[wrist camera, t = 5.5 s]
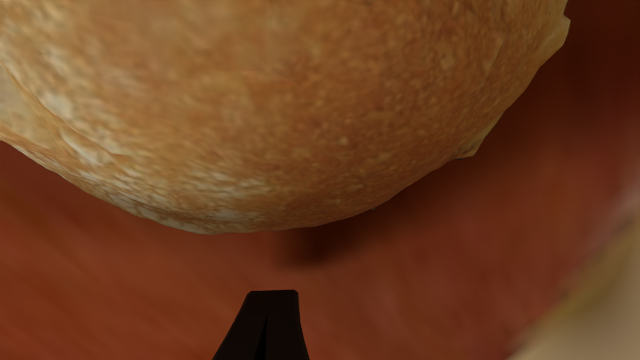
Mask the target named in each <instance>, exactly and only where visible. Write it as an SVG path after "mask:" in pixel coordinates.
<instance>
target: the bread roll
mask: <svg viewBox="0 0 640 360" xmlns="http://www.w3.org/2000/svg"><path fill="white" fill-rule="evenodd" d="M567 1H568V0H0V140H2V141H4V142H6V143H8V144H10V145H12V146H13V147H15V148H16V149H18V150H19V151H21V152H22V153H24V154H25V155H27V156H28V157H29V158H31V159H33V160H34V161H36V162H37V163H39V164H40V165H42V166H44V167H45V168H47V169H49V170H51V171H54V172H56V173H58V174H59V175H61V176H62V177H63V178H65V179H66V180H68V181H69V182H71V183H72V184H74V185H76V186H77V187H79V188H80V189H82V190H83V191H85V192H87V193H89V194H91V195H93V196H96V197H98V198H100V199H102V200H104V201H106V202H108V203H110V204H113V205H115V206H117V207H119V208H121V209H123V210H125V211H127V212H129V213H132V214H134V215H136V216H138V217H143V218H147V219H151V220H154V221H156V222H158V223H161V224H163V225H166V226H170V227H174V228H177V229H181V230H185V231H189V232H193V233H197V234H210V235H213V234H222V233H230V232H237V233H250V232H259V231H280V230H286V229H292V228H302V227H315V226H319V225H323V224H327V223H330V222H334V221H338V220H342V219H345V218H349V217H353V216H355V215H358V214H360V213H362V212H365V211H367V210H369V209H371V210H373V211H374V210H375V208H376V207H377V206H378V205H380V204H383V203H385V202H387V201H388V200H389V199H391V198H392V197H393V196H395V195H396V194H397V193H399V192H400V191H401V190H403V189H404V188H406V187H408V186H410V185H411V184H413V183H415V182H416V181H418V180H419V179H421V178H422V177H424V176H425V175H427V174H428V173H430V172H431V171H433V170H435V169H439V168H441V167H442V166H443V165H444V164H445V163H447V162H449V161H451V160H453V159H457V160H461V159H463V158H465V157H471V156H473V155H474V154H475V153H476V151H477V150H478V148H479V146H480V145H481V143H482V141H483V140H484V138H485V137H486V136H487V134H488V133H489V132H490V130H491V129H492V128H493V127H494V125H495V124H496V123H497V121H498V120H499V118H500V117H501V116H502V114H503V113H504V111H505V110H506V109H507V108H509V107H510V106H511V105H512V104H513V103H514V102H515V101H516V99H517V98H518V97H519V96H520V95H521V94H522V93H523V92H524V91H525V90H526V88H527V87H528V85H529V83H530V82H531V80H532V79H533V77H534V75H535V74H536V72H537V70H538V69H539V67H541V66H542V65H543V64H544V63H545V62H546V61H547V60H548V59H549V58H550V57H551V56H552V55H553V54H554V53H555V52H556V51H557V50H558V49H560V48H561V47H562V46H563V44H564V41H565V39H566V37H567V34H568V30H569V26H570V20H569V19H568V18H567V17H566V16H565V15H563V13H564V10H565V7H566V4H567Z"/></svg>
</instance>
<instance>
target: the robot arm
mask: <svg viewBox="0 0 640 360" xmlns="http://www.w3.org/2000/svg"><path fill="white" fill-rule="evenodd" d="M212 360H310V359H309V356H308V352H307V348H306V345H305V341H304V337H303V333H302V328H301V323H300V312H299V298H298V292H296V291H295V290H271V291H250V292H249V293H248V294H247V296H246V298H245V300H244V303H243V305H242V307H241V309H240V311H239V313H238V315H237V317H236V319H235V321H234V322H233V324H232V326H231V328H230V330H229V332H228V333H227V335H226V337H225V339H224V340H223V342H222V344H221V345H220V347H219V349H218V350H217V352H216V354H215V355H214V357H213V359H212Z"/></svg>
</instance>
